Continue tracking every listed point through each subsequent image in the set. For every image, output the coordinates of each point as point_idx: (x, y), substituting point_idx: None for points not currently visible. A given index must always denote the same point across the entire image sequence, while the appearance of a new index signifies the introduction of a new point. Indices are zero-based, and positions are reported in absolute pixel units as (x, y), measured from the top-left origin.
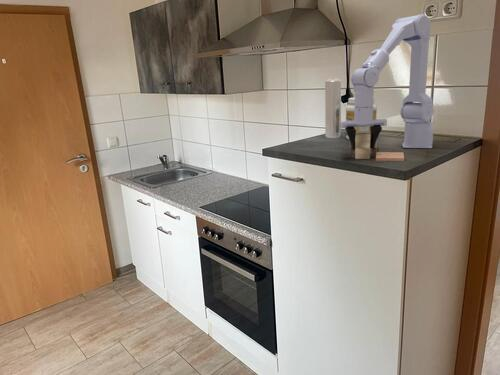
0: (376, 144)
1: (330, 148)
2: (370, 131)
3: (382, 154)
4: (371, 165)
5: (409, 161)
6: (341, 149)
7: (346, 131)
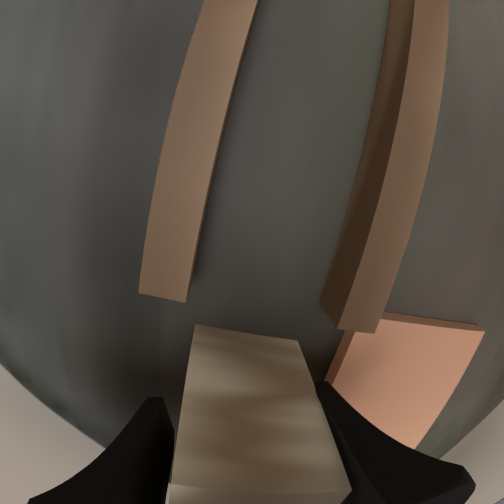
0: (422, 171)
1: (41, 3)
2: (366, 477)
3: (366, 388)
4: None
5: (422, 441)
6: (107, 34)
7: (48, 496)
